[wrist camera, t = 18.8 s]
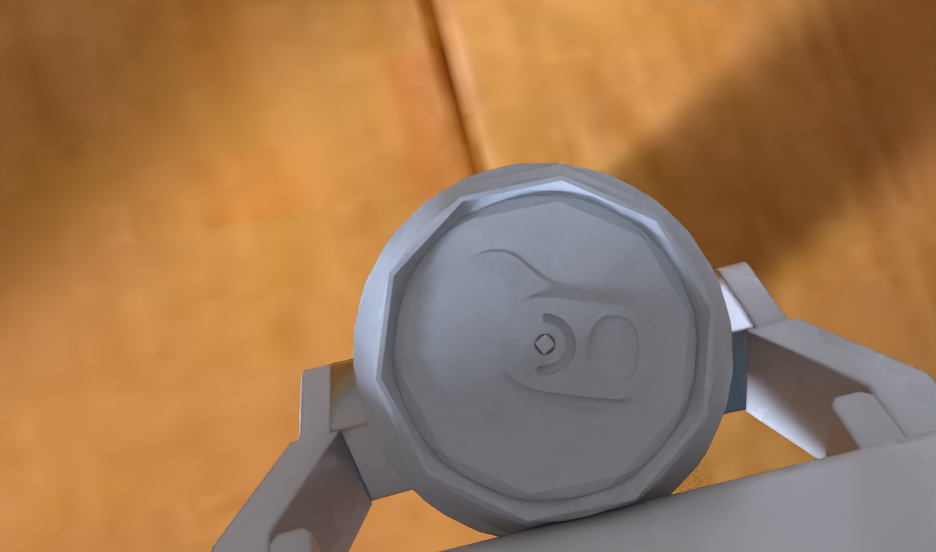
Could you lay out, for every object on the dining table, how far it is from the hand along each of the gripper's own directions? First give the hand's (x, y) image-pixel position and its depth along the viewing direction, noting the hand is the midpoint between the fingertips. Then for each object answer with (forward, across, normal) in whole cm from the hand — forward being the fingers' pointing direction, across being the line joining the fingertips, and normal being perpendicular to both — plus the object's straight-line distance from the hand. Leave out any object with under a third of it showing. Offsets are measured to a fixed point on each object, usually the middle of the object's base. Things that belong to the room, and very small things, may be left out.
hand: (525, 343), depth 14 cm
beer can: (+5, 0, +5) cm, 7 cm away
